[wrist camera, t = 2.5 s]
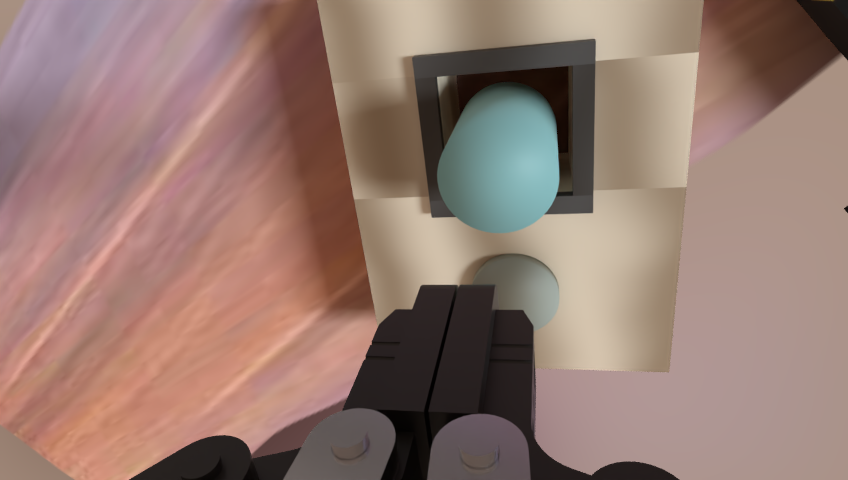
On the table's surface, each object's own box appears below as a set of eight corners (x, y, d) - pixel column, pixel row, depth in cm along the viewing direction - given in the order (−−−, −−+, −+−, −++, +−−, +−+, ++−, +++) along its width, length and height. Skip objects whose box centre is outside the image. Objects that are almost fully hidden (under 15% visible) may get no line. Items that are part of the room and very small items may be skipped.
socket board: (678, -55, 23) (713, -54, 18) (652, 312, 31) (671, 380, 26) (353, -15, 26) (310, -5, 21) (405, 310, 34) (381, 371, 29)
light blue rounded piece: (556, 77, 22) (558, 114, 17) (557, 174, 24) (560, 231, 19) (455, 85, 23) (430, 123, 18) (463, 178, 25) (443, 234, 20)
